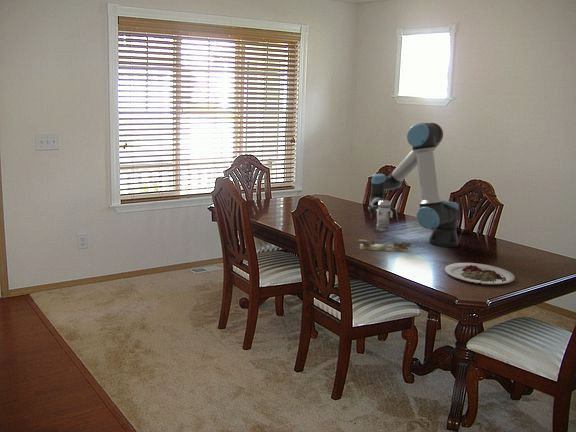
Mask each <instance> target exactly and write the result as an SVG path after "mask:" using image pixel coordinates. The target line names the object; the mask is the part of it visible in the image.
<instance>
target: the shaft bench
mask: <svg viewBox="0 0 576 432" xmlns="http://www.w3.org/2000/svg"><path fill="white" fill-rule="evenodd" d="M375 242H376V241H375V240H369V239H358V244H359V250H369V251H382V252H396V253H397V252H398V253H409V248H411V242H403V241H402V242H401V241H399V242H398V241H394V242H393V244H382V243H381V244H380V243H375Z"/></svg>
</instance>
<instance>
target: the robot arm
mask: <svg viewBox="0 0 576 432" xmlns="http://www.w3.org/2000/svg"><path fill="white" fill-rule="evenodd" d="M443 139H444V130H443V129H442V126H441V125H439V124H438V123H435V122H418V123H415V124H413V125H411V126H410V128H408V130H407V133H406V141H407V142H408V144H409V145H410V146H411V147H412V149H411V151H410V152H409V153H408V154H407V155H406V156H405V158H404V159H403V160H402V161H401V162H400V163H399V164H398V165H397V166H396V167H395V168H394V170H393V171H392V172H391V173H390V174H389V175H388V176H386V174H384V173H373V174H372V175H371V182H370V183H371V187H370V197H369V199H368V200H369V201H368V202H369V204H368V206H367V211H369V214H372V215H373V216H376V218H377V217H379V210H378V203H379V200H385V191H390V190H396V189H399V188H401V186H402V184H403V181H404V180H405V179H406V178H407V176H408V175H409V174H411V172H412V171H413V170H414V169H415V168H416V167H417V171H418V179H419V186H420V194H421V196H420V197H421V201H420V202H419V204H418V205H419V209H418V211H417V213H416V220H417V222H418V224H419V225H420V226H421V227H423V228H424V229H427V230H428V229H429V230H431V229H433V230H431V231H432V232H431V234H430V236H429V240H428V243H429V244H430V245H434V246H438V247H443V248H455V247H458V246H459V237H458V234H457V228H458V226H457V225H458V218H459V217H458V216H459V211H460V210H459V206H460V205H459V203H457V202H454V201H450V200H442V199H441V198H440V196H439V189H438V187H439V186H438V180H437V171H436V163H435V156H434V151H435V150H436V148H437V147H438V146H439V145H440V143H441V142H442V141H443ZM396 214H397V209H396V208H394V206H393V205H392V206H390V215H389V218H393V216H396ZM456 227H457V228H456Z"/></svg>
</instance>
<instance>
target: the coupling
mask: <svg viewBox="0 0 576 432" xmlns="http://www.w3.org/2000/svg"><path fill="white" fill-rule="evenodd" d="M390 207H391V201H390V200H388V199H384V200H379V203H378V210H379V217H377V216H376V230H377V231H381V232H388V231H389V227H390V216H389V215H390Z"/></svg>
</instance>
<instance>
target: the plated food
mask: <svg viewBox="0 0 576 432" xmlns="http://www.w3.org/2000/svg"><path fill="white" fill-rule="evenodd" d="M444 272H445V273H446V274H448V275H449V276H451V277H453V278H456V279H458V280H462V281H465V282H467V283H472V282H473V284H478V283H481V284H480V285H503V284H509V283H512V282H513V281H515V278H516V277H515V275H514V274H513V273H512V272H510V271H508V270H506V269H504V268H502V267H498V266H494V265H490V264H484V263H475V262H455V263H452V264H451V263H450V264H448V265H446V266H445V267H444ZM502 275H503V276H502ZM503 277H505V278H506V281H503V282H502V280H503V279H504V278H503ZM501 279H502V280H501ZM495 280H496V281H495ZM493 282H494V283H493Z"/></svg>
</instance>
